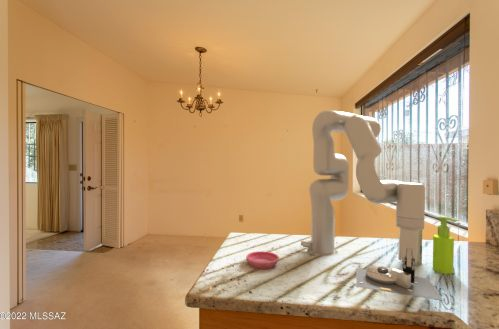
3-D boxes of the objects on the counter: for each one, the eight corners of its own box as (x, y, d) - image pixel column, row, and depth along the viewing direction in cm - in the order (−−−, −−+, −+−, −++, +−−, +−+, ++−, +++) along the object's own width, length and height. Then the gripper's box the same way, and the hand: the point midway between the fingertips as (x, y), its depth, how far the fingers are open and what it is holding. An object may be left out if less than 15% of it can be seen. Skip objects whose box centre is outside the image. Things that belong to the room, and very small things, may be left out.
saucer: (252, 257, 111) (252, 249, 111) (282, 261, 107) (282, 253, 107) (241, 268, 99) (241, 259, 99) (274, 273, 95) (274, 264, 95)
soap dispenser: (450, 279, 91) (452, 220, 90) (429, 272, 97) (430, 216, 97) (460, 276, 93) (461, 218, 93) (438, 269, 100) (439, 214, 99)
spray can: (424, 268, 100) (425, 214, 100) (404, 267, 101) (405, 213, 101) (417, 262, 106) (418, 211, 106) (398, 260, 108) (399, 210, 108)
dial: (359, 275, 90) (359, 262, 90) (378, 269, 95) (378, 257, 95) (398, 292, 79) (399, 278, 78) (418, 284, 84) (418, 271, 83)
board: (356, 290, 82) (356, 285, 82) (355, 269, 98) (355, 266, 98) (442, 304, 75) (442, 299, 75) (426, 279, 90) (426, 275, 90)
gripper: (396, 216, 92) (395, 270, 93) (395, 225, 79) (393, 287, 80) (422, 219, 89) (421, 275, 89) (425, 229, 76) (424, 294, 76)
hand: (408, 281), depth 84 cm, fingers closed
